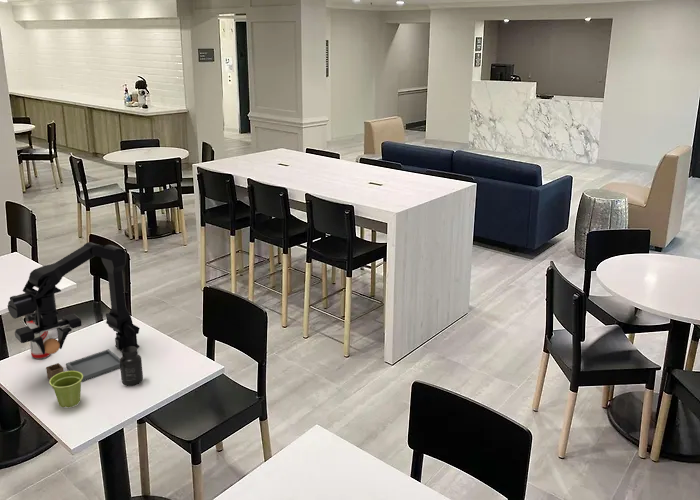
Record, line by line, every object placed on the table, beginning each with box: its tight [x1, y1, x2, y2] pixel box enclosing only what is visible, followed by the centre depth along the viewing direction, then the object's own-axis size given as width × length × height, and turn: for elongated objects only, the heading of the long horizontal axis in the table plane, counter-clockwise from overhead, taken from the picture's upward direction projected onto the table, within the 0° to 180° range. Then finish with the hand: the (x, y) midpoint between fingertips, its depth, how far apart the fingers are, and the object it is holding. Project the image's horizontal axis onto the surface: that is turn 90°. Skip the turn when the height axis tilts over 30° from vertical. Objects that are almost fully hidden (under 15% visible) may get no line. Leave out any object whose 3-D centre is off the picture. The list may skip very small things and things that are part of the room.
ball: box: [44, 337, 60, 355], centre depth 196 cm, size 5×5×5 cm
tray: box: [65, 348, 121, 383], centre depth 207 cm, size 15×12×2 cm
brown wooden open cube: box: [45, 362, 65, 381], centre depth 200 cm, size 4×4×4 cm
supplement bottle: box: [119, 346, 144, 387], centre depth 198 cm, size 7×7×12 cm
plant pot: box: [48, 370, 83, 409], centre depth 186 cm, size 9×9×9 cm
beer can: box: [25, 320, 51, 360], centre depth 211 cm, size 6×6×16 cm
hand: (52, 351), depth 197 cm, fingers closed on ball, 5 cm apart
